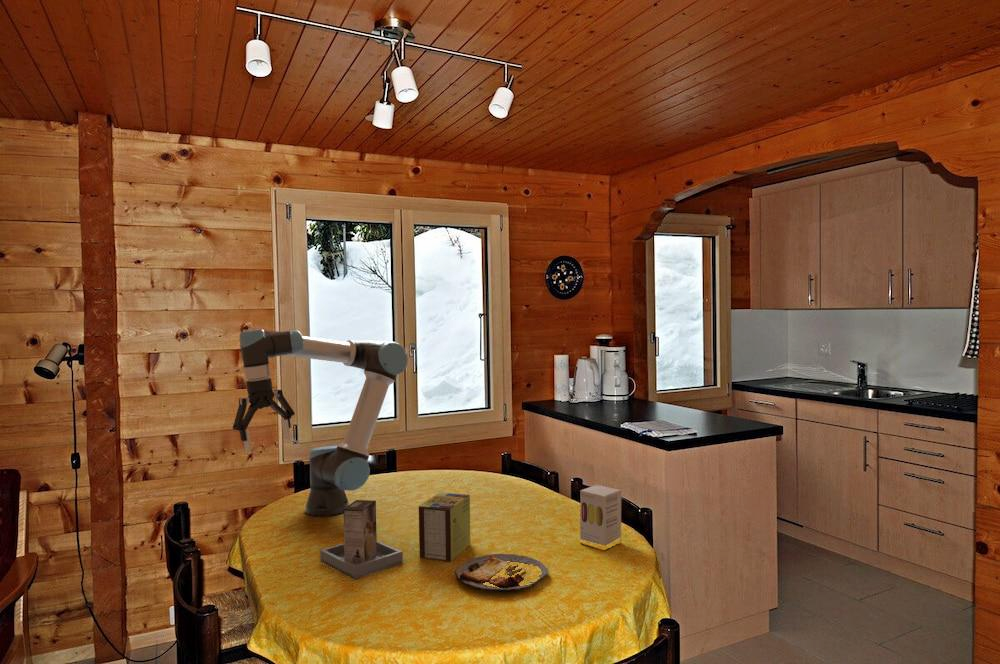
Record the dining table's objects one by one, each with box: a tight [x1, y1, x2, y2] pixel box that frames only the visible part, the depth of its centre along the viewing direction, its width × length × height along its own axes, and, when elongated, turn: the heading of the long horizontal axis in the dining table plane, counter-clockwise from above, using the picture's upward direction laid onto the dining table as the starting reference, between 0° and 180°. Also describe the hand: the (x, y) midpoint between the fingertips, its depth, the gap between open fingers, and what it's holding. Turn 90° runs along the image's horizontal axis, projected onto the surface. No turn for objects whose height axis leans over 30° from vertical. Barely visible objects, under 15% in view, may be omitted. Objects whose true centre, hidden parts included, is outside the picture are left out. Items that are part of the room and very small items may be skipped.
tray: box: [319, 540, 404, 580], centre depth 191 cm, size 16×18×4 cm
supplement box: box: [579, 484, 622, 546], centre depth 204 cm, size 10×9×17 cm
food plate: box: [454, 553, 549, 592], centre depth 180 cm, size 25×23×4 cm
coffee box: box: [342, 499, 378, 565], centre depth 191 cm, size 9×6×16 cm
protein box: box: [418, 491, 471, 562], centre depth 200 cm, size 10×15×16 cm
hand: (268, 444), depth 211 cm, fingers open, 13 cm apart
